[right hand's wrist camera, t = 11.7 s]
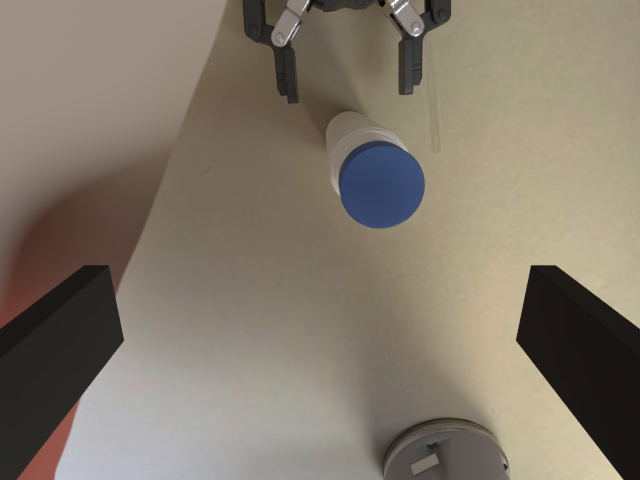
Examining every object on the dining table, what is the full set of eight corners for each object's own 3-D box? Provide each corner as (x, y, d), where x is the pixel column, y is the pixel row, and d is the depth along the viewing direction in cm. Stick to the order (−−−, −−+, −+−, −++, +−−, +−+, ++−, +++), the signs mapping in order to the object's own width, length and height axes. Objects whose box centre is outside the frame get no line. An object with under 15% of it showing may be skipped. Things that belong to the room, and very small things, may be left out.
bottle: (351, 169, 39) (382, 251, 19) (315, 138, 38) (310, 191, 18) (383, 133, 38) (452, 181, 18) (347, 100, 37) (379, 113, 17)
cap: (378, 231, 20) (383, 244, 19) (322, 183, 20) (322, 193, 18) (431, 175, 19) (442, 183, 18) (375, 123, 19) (380, 126, 17)
